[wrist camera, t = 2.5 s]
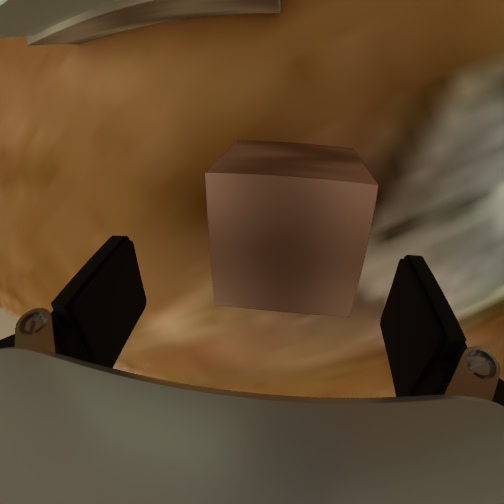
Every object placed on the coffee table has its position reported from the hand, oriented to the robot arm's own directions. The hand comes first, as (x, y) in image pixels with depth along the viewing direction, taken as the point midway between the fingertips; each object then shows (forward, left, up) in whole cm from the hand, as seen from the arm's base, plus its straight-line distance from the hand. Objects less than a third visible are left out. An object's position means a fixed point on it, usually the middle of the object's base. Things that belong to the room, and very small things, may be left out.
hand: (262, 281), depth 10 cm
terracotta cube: (-1, 0, -8) cm, 8 cm away
